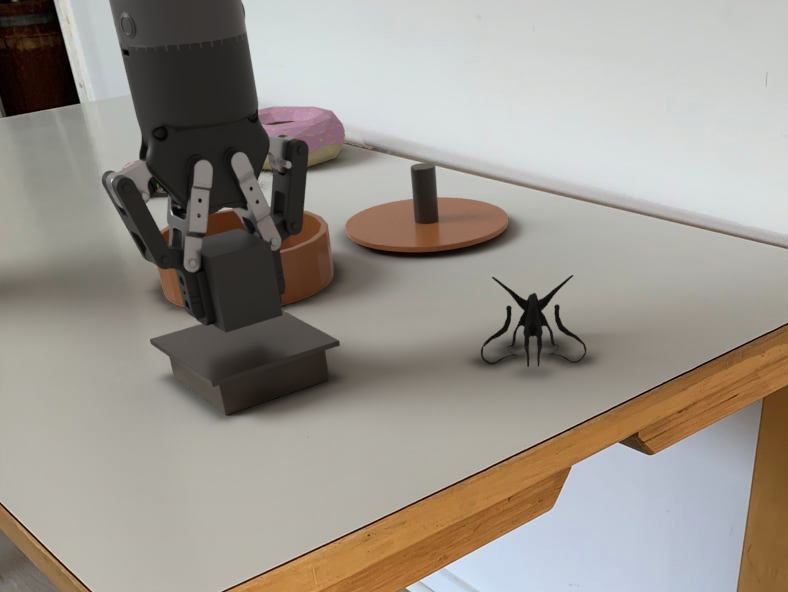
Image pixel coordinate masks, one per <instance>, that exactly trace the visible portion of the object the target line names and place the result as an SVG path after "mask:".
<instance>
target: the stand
mask: <svg viewBox="0 0 788 592" xmlns="http://www.w3.org/2000/svg"><path fill="white" fill-rule="evenodd" d="M282 314H283V315H282V316H279V317H275V318H272V319H269V320H266V321H262V322H259V323H256V324H252V325H249V326H246V327H243V328H239V329H236V330H233V331H229V332H224V331H222V330H221V329H219V328H217V327H216V326H214V325H212V324H211V325H208V326H205V325H204V324H202V323H200V324H197V325H194V326H189V327H187V328H183V329H179V330H175V331H172V332H169V333H166V334H163V335H159V336H155V337H152V338H150V339H149V342H150V345H152V346H153V347H154V348H156V349H157V350H159V351H160V352H162V353H163V354H164V355H166V356H167V357H168V358H169V361H170V366H171V370H172V374H173V377H174V378H175V379H176V380H177V381H178V382H180V383H181V384H182V385H184V386H185V387H187V388H188V389H189V390H191V391H192V392H193V393H195V394H196V395H198V396H199V397H200V398H202V399H203V400H205V401H206V402H207V403H209V404H210V405H211V406H213V407H214V408H215V409H217V410H218V411H219V412H221V413H222V414H224V415H226V416H227V415H231V414H233V413H237V412H240V411H242V410H245V409H248V408H251V407H254V406H257V405H260V404H262V403H265V402H268V401H271V400H274V399H277V398H280V397H283V396H286V395H289V394H292V393H294V392H298V391H300V390H303V389H306V388H310V387H312V386H314V385H317V384H320V383H324V382H326V381H329V380H330V375H329V369H328V363H327V362H328V361H327V355H326V351H327V350H331V349H334V348H337V347H340V346H341V344H340V340H339V339H337V338H335V337H334V336H331V335H330V334H328V333H326V332H325V331H323V330H321V329H318V328H317V327H315V326H313V325H311V324H309V323H307V321H306V322H305V321H304V320H302V319H300V318H298V317H296V316H294V315H293V314H291V313H289V312H287V311H285V310H283V309H282Z"/></svg>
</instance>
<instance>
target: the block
mask: <svg viewBox="0 0 788 592" xmlns="http://www.w3.org/2000/svg"><path fill="white" fill-rule="evenodd" d="M200 268H201V269H203V270H205V272H206V276H207V281H208V285H209V290H210V295H211V299H212V304H213V309H214V313H215V318H216V323H215V324H212V325H214V326H216V327H217V328H219V329H221V330H222V331H224V332H229V331H233V330H236V329H239V328H243V327H246V326H249V325H252V324H256V323H259V322H262V321H266V320H269V319H272V318H275V317H279V316H282V315H283V314H282V310H283V309H282V306H281V302H280V296H279V290H278V285H277V279H276V273H275V267H274V261H273V255H272V250H271V244H270V242H268V241H266V240H263V239H261V238H259V237H257V236H255V235H252V234H250V233H248V232H246V231H243V230H241V229H235V230H231V231H227V232H223V233H219V234H215V235H211V236H207V237H203V244H202V259H201V267H200Z"/></svg>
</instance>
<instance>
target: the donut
mask: <svg viewBox="0 0 788 592" xmlns="http://www.w3.org/2000/svg"><path fill="white" fill-rule="evenodd" d="M258 116H259V120H260V122H261V124H262V126H263V127H264V129H265V130H266V132H267V134H268V136H274V137H278V136H279V135H282V134H283V135H287V136H290V137H293V138H297V139H300V140H303V141H305V142H306V143H307V145H308V148H309V153H308V165H307V168H308V167H311V166H315V165H318V164H321V163H325V162H327V161H331V160H333V159H336V158H337V156H338V155H339V153H340V152H341V151H342V150H343V146H344V142H345V138H346V133H345V132H346V130H345V128H344V124H343V122H342V121H341V120H340V118H338V117H337V115H336V114H335V112H334V111H333V110H331V109H326V108H322V107H317V106H297V105H296V106H289V105H287V106H282V105H281V106H280V105H279V106H277V105H275V106H270V107H265V108H264V107H263V108H258ZM262 170H272V171H273V169H272V168H271V167H270V165H269V160H268V155H267V157H266V160H265V163H264V165H263V168H262Z"/></svg>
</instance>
